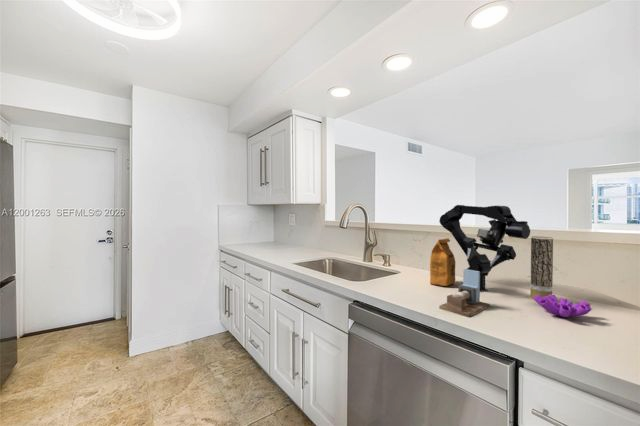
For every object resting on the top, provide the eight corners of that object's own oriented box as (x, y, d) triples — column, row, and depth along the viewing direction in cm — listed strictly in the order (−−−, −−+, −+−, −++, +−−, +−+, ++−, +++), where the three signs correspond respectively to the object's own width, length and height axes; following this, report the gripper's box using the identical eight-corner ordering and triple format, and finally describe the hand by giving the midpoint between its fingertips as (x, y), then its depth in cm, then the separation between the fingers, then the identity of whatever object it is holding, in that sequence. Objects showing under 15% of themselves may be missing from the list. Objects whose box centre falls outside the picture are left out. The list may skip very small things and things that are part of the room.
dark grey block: (460, 299, 102) (460, 284, 102) (475, 303, 98) (475, 288, 98) (458, 300, 101) (458, 285, 101) (473, 304, 97) (473, 288, 97)
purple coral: (589, 335, 85) (585, 314, 82) (531, 319, 97) (525, 300, 94) (596, 307, 90) (592, 287, 87) (540, 295, 102) (535, 277, 99)
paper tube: (556, 302, 105) (557, 238, 105) (536, 301, 106) (537, 237, 106) (545, 297, 112) (546, 236, 112) (526, 296, 113) (527, 236, 113)
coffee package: (459, 284, 131) (459, 238, 131) (447, 288, 123) (448, 240, 123) (438, 280, 139) (439, 237, 139) (426, 284, 131) (427, 238, 131)
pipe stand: (461, 299, 108) (461, 284, 108) (489, 306, 100) (489, 290, 100) (439, 308, 97) (439, 291, 97) (468, 317, 90) (468, 298, 90)
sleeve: (464, 297, 105) (464, 269, 105) (479, 301, 100) (480, 271, 100) (460, 299, 103) (461, 269, 103) (476, 302, 99) (476, 272, 98)
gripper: (467, 218, 117) (449, 246, 114) (515, 225, 102) (496, 259, 98) (476, 234, 123) (459, 261, 119) (523, 243, 107) (506, 275, 103)
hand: (478, 264), depth 109 cm, fingers open, 9 cm apart
